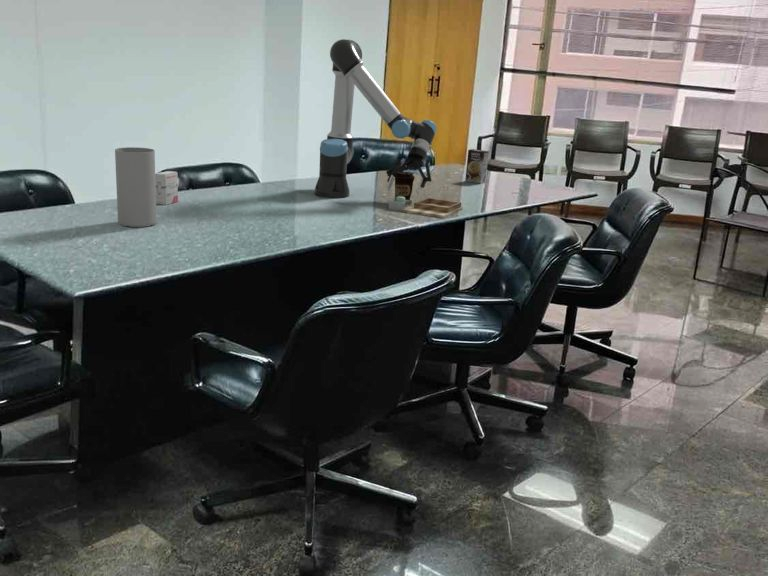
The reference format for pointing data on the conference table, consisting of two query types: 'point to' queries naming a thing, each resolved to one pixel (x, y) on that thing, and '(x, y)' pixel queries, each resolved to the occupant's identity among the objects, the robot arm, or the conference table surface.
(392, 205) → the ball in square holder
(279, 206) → the conference table surface
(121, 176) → the cylinder vase
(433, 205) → the tray
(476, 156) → the coffee box
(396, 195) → the coffee cup
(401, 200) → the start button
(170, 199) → the ink box
